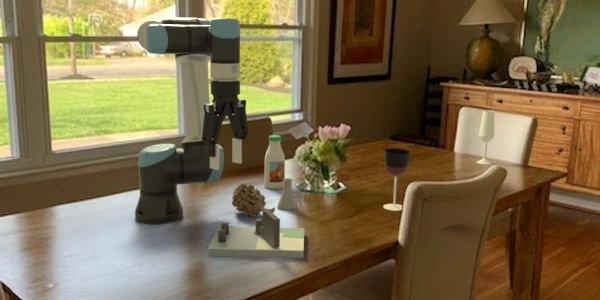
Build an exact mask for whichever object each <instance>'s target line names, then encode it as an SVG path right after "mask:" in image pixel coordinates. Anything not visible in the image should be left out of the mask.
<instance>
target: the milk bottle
mask: <svg viewBox="0 0 600 300" xmlns="http://www.w3.org/2000/svg"><path fill="white" fill-rule="evenodd" d="M268 142H269V145H268V147H267V150H266V153H265V155H264V176H263V177H264V181H263V182H264V183H263V184H264V188H266V189H270V190H279V189H280V190H281V189H283V188H284V181H283V179H285V178H286V177H285V174H286V173H285V171H286V170H285V169H286V168H285V167H286V163H285V161H286V160H285V159H286V158H285V157H286V156H285V153H284V151H283V148H282V145H281V142H282V137H281V135H278V134H272V135H269V136H268Z"/></svg>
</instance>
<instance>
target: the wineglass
mask: <svg viewBox="0 0 600 300" xmlns="http://www.w3.org/2000/svg"><path fill="white" fill-rule="evenodd" d="M383 153H384V154H383V155H384V156H383V157H384V165H385V169H386V171H387V172H388V173H389V174H390V175H392V176H394V182H393V183H394V185H393V199H392V200H393V201H392V202H393V203H387V204H384V205H383V206H382V207H383V209H385V210H389V211H396V212H397V211H403V210H402V206H403V205H401V204H398V203H396V198H397V197H396V196H397V180H398V179H397V178H398V176H400V175H403V174H405V173H406V171H407V169H408V167H409V164H410V163H409V161H410V154H411V152H410V151H409V150H407V149H402V148H386V149H384V151H383Z"/></svg>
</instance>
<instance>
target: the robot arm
mask: <svg viewBox="0 0 600 300" xmlns="http://www.w3.org/2000/svg"><path fill="white" fill-rule="evenodd" d="M240 26H241V25H240V20H239V19H237V18H231V17H230V18H229V17H228V18H227V17H225V18H221V17H213V18H211V19H210V20H208V19H207V18H199V17H157V18H152V19H149V20H146V21H144V22H143V23H142V24H141V25H140V26H139V28H138V29H137V34H136V35H137V41H138V43H139V45H140V47H142V48H143V49H144V50H146V51H147V53H149V54H152V55H153V54H154V55H155V54H156V55H174V59H175V62H177V63H178V64H179V65H180V75H181V90H182V102H183V115H184V116H183V118H184V132H185V133H184V134H185V137H184V138H183V139H182V141H181V147H180V148H178V147H177V145H176V144H174V143H158V144H157V143H156V144H154V145H149V146H147V147H144V148H143V149H141V150H140V151H139V154H138V163H137V166H138V168H139V169H138V174H139V176H138V177H139V197H138V200H137V203H136V207H135V211H134V215H135V216H134V217H135V220H136V221H137V222H140V223H142V224H146V225H164V224H165V225H166V224H170V223H174V222H176V221H177V222H178V221H179V220H182V219H183V217H184V208H183V205H182V202H181V200H180V198H179V195H178V185H189V184H190V185H191V184H202V183H204V184H206V183H210V182H212V183H214V182H217V181H218V180H220V179H221V177H222V174H223V169H224V162H225V161H224V160H225V159H224V158H225V152H224V147H222V146H221V145H220V144H218V140H219V136H220V134H221V129H222V125H223V122H224V121H225V120H226V117H227V118H228V120H229V121H228V122H229V124H230V128H231V130H232V133H233V135H234V138H232V139H231V140H232V141H231V142H232V143H231V144H232V148H231V149H232V151H231V152H232V153H231V154H232V156H231V158H232V160H231V161H232V163H234V164H235V163H236V164H243V162H242V161H243V155H242V151H243V146H244V145H243V140H246V139H247V136H248V135H249V126H248V117H247V108H246V107H247V100H246V99H241V98H239V95H240V94H241V81H240V80H239V79H240V78H241V75H240V74H241V67H240V65H241V63H240V62H241V34H242V33H241V29H240V28H241V27H240ZM209 62H210V65H209V67H210V75H208V63H209ZM209 77H210V78H211V79H212V80H210V88H209ZM210 94H211V95H212V97H213V98H212V102H211V101H210Z"/></svg>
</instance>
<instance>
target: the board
mask: <svg viewBox="0 0 600 300" xmlns="http://www.w3.org/2000/svg"><path fill="white" fill-rule="evenodd" d="M305 232H306V231H305V228H304V227H280V247H276V248H274V247H273V246H272V245H271V244H270V243H269V242H268V241H266V240H265V239H264V238H263V237H262V236H261V235H260V234H259V233H258V232H256V226H230V223H229V222H227V221H226V222H225V221H224V222H222V223H221V226H220V225H219V226H217V227H216V229H215V231H214V234H213V237H212V238H211V241H210V243H209V245H208V248H207V256H208V257H240V258H241V257H243V258H245V257H246V258H251V257H252V258H281V259H282V258H285V259H286V258H287V259H295V258H296V259H303V258H304V254H305V253H304V252H305V251H304V250H305V247H304V246H305Z"/></svg>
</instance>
